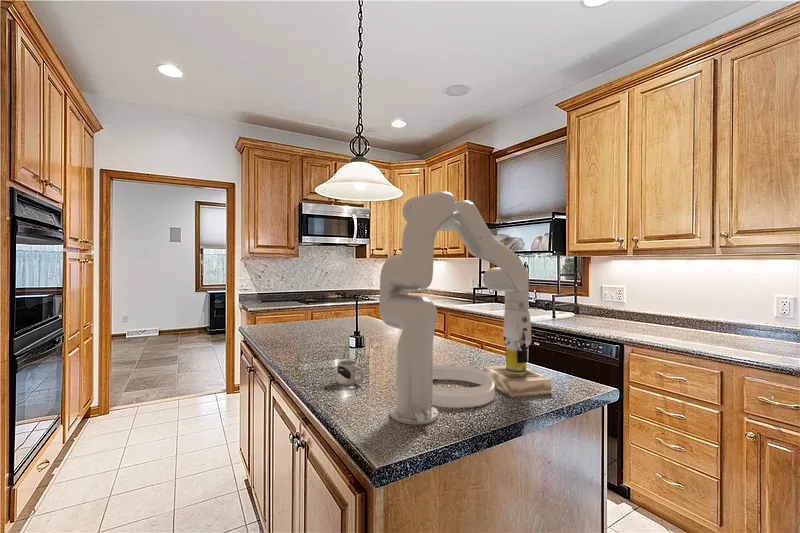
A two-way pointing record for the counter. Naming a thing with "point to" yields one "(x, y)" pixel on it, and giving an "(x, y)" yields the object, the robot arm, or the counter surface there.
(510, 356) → the pill bottle
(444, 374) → the white open ring
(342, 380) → the mug
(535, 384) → the socket block
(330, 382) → the counter surface
